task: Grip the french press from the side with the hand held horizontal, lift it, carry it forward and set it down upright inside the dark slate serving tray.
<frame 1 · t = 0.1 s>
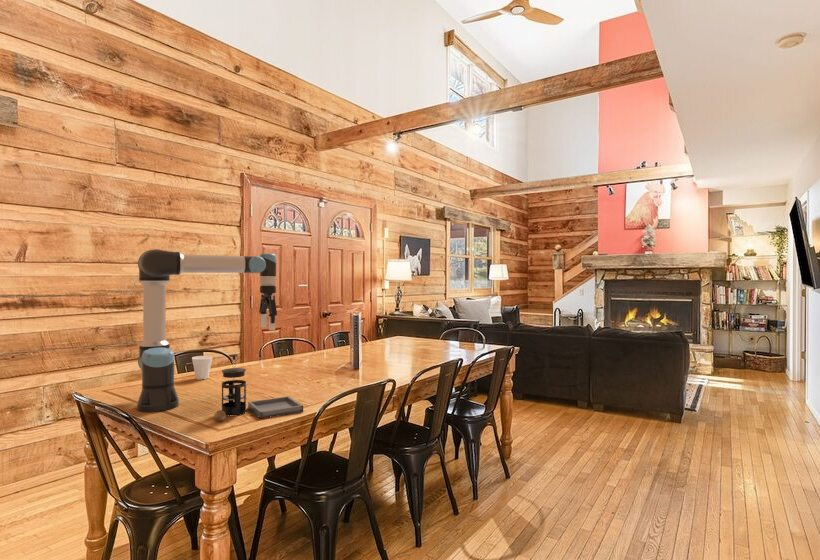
hand: (267, 328, 234), 28 cm above the table, tool pointing down, fingers open, 13 cm apart
cup: (202, 379, 248), on the table
french press: (234, 413, 189), on the table
tray: (275, 409, 193), on the table
wooden ball: (220, 421, 178), on the table
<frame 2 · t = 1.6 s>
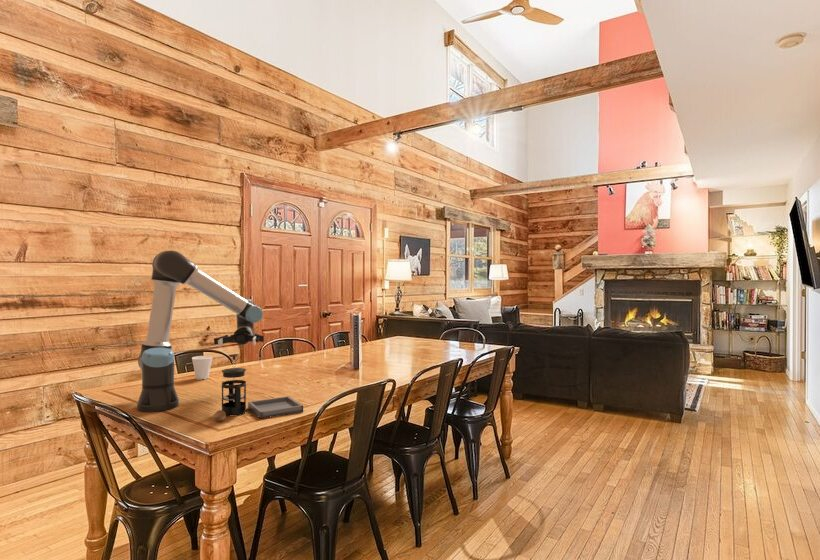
hand: (236, 342, 198), 26 cm above the table, tool horizontal, fingers open, 13 cm apart
nothing on the table moved.
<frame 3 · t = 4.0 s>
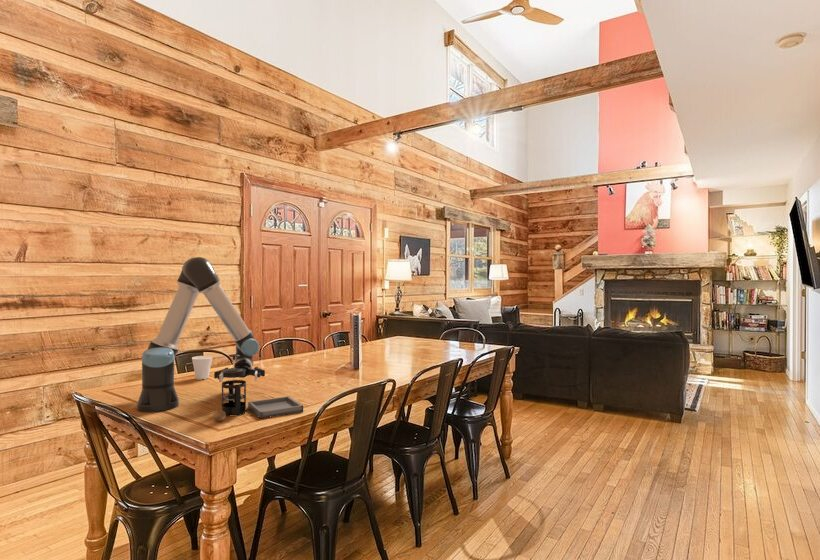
hand: (238, 378, 195), 12 cm above the table, tool horizontal, fingers open, 13 cm apart
nothing on the table moved.
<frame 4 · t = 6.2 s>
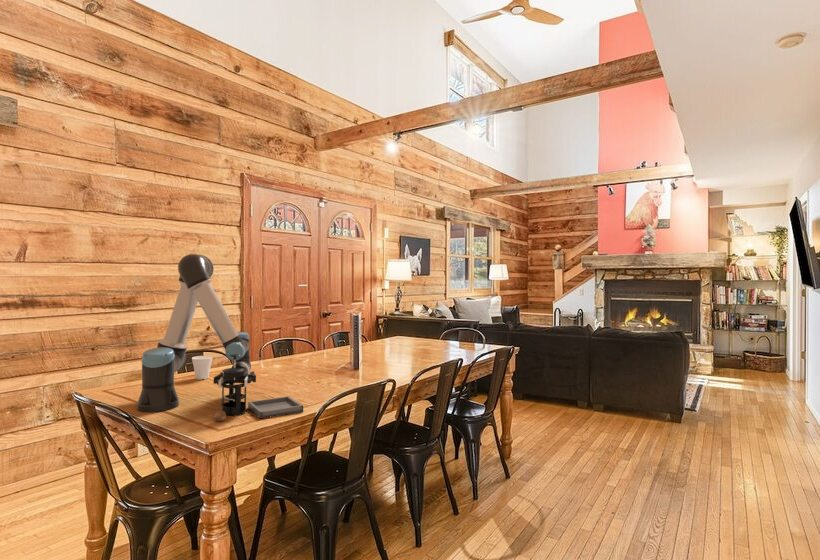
hand: (232, 384, 184), 12 cm above the table, tool horizontal, fingers closed on french press, 9 cm apart
french press: (234, 413, 189), on the table, touching gripper
everything else where it was.
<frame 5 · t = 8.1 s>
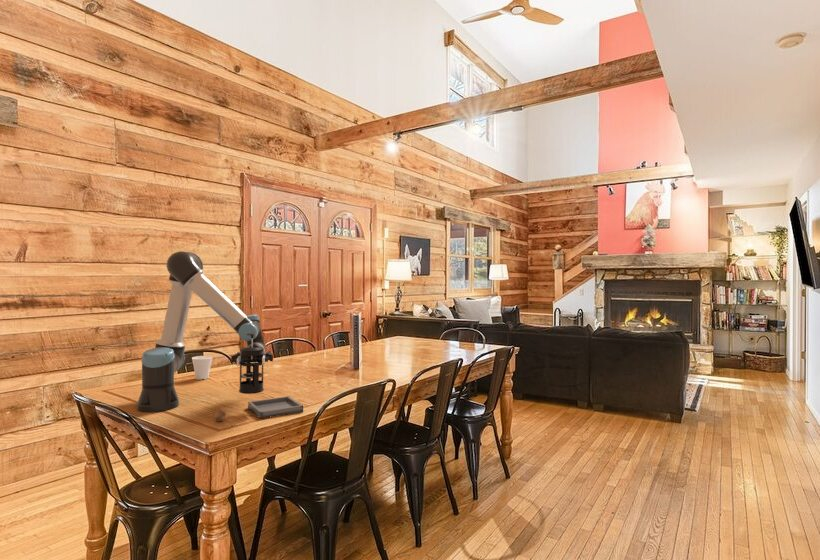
hand: (250, 362, 186), 21 cm above the table, tool horizontal, fingers closed on french press, 9 cm apart
french press: (251, 391, 190), point 8 cm above the table, touching gripper
everything else where it was.
when the fingers open (15 cm above the table, at t = 10.0 s): french press drops 1 cm, resting on tray.
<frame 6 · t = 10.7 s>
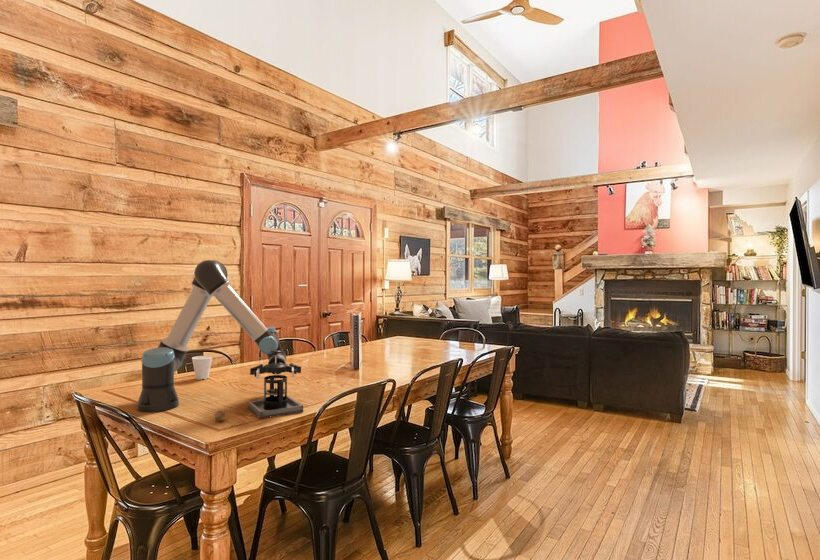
hand: (275, 374, 190), 15 cm above the table, tool horizontal, fingers open, 13 cm apart
french press: (275, 407, 194), point 1 cm above the table, touching tray
everything else where it was.
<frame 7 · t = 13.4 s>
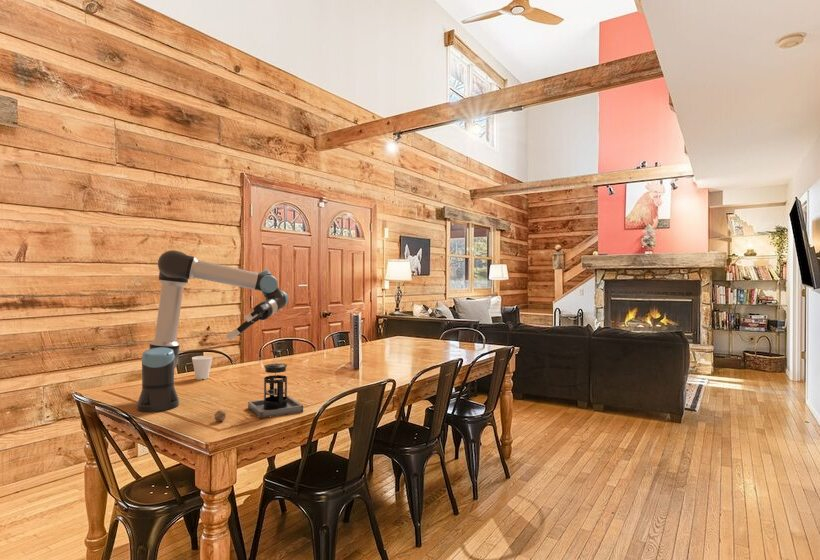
hand: (237, 328, 197), 32 cm above the table, tool tilted 75°, fingers open, 13 cm apart
nothing on the table moved.
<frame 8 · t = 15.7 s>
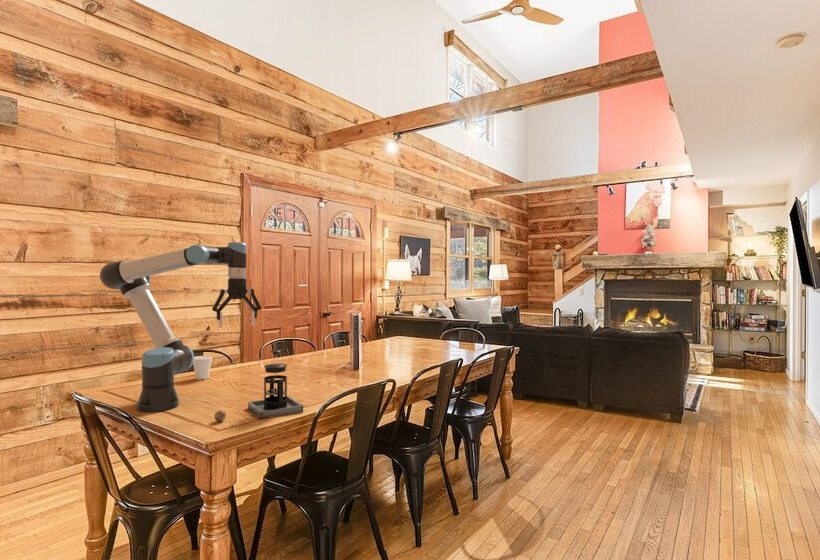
hand: (237, 326, 208), 32 cm above the table, tool pointing down, fingers open, 13 cm apart
nothing on the table moved.
at the end: french press inside the target area on the tray (0.2 cm from its centre), point 0.8 cm above the tray's base; french press tilted 0°; the gripper is holding nothing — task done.
